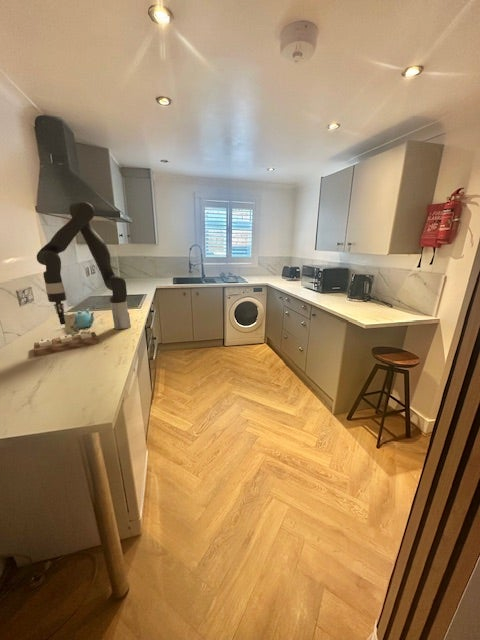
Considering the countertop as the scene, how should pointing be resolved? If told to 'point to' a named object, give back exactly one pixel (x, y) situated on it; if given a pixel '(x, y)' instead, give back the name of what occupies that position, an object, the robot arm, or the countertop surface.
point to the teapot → (84, 319)
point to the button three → (85, 335)
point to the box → (71, 324)
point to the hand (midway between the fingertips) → (63, 323)
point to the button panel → (65, 344)
